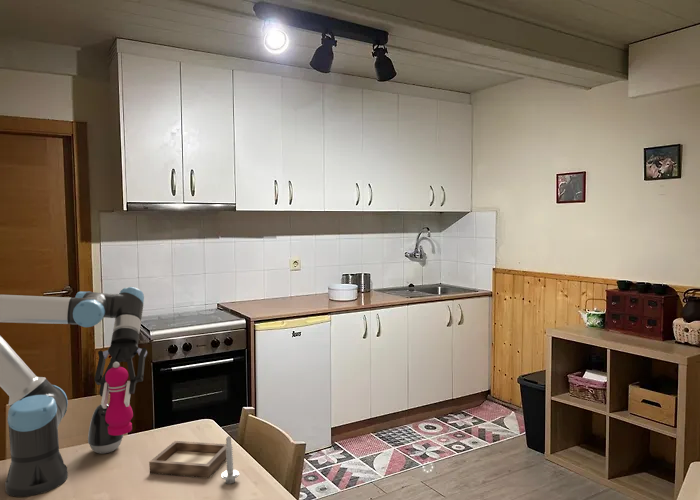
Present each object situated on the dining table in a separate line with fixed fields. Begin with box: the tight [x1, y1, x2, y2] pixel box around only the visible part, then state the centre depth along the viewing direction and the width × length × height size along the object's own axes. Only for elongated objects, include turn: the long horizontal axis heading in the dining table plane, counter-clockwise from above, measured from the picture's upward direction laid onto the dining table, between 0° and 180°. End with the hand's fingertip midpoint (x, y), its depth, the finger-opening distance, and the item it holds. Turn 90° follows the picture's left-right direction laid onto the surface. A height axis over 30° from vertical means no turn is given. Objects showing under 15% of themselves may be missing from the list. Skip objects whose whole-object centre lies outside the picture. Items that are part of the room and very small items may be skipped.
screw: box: [220, 436, 240, 485], centre depth 148 cm, size 13×5×5 cm
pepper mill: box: [105, 362, 134, 436], centre depth 151 cm, size 7×7×20 cm
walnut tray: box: [148, 440, 227, 479], centre depth 160 cm, size 18×14×4 cm
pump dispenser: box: [87, 402, 124, 455], centre depth 170 cm, size 10×10×15 cm
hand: (115, 405), depth 147 cm, fingers closed on pepper mill, 5 cm apart
